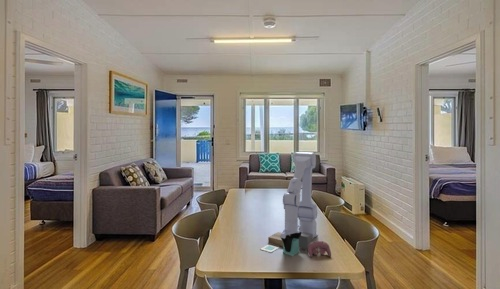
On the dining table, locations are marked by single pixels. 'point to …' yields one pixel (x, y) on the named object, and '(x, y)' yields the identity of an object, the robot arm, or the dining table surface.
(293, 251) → the teal block
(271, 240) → the walnut base
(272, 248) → the card
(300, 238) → the charcoal block
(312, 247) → the pink arch
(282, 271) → the dining table surface
